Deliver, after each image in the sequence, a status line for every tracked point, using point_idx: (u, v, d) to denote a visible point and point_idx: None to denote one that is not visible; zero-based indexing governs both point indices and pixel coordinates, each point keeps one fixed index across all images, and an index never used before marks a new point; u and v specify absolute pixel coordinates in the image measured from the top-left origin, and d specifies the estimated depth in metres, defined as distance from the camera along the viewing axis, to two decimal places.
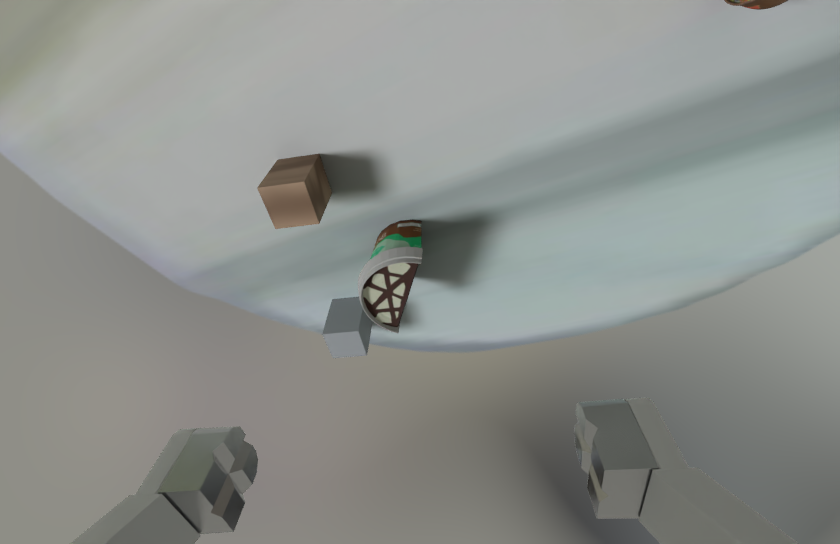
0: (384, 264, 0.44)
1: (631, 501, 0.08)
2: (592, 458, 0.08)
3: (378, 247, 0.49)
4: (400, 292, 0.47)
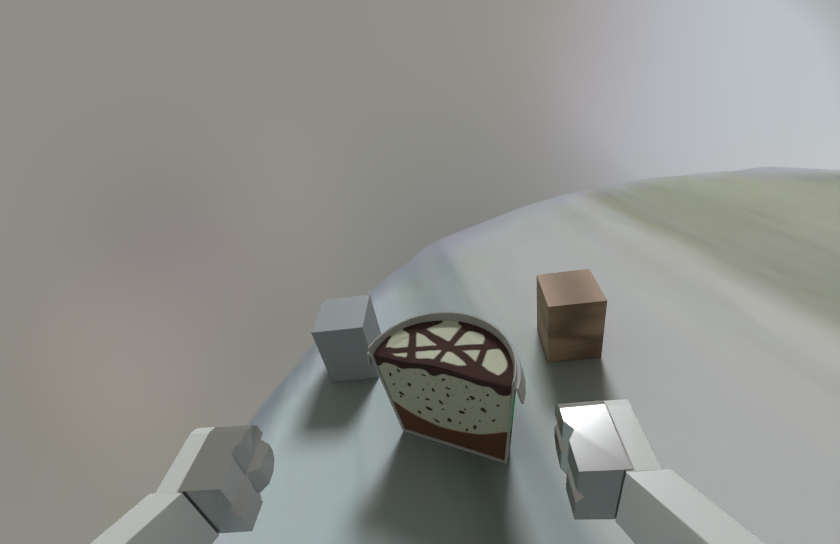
0: None
1: (607, 502, 0.08)
2: (569, 459, 0.08)
3: None
4: (447, 358, 0.30)
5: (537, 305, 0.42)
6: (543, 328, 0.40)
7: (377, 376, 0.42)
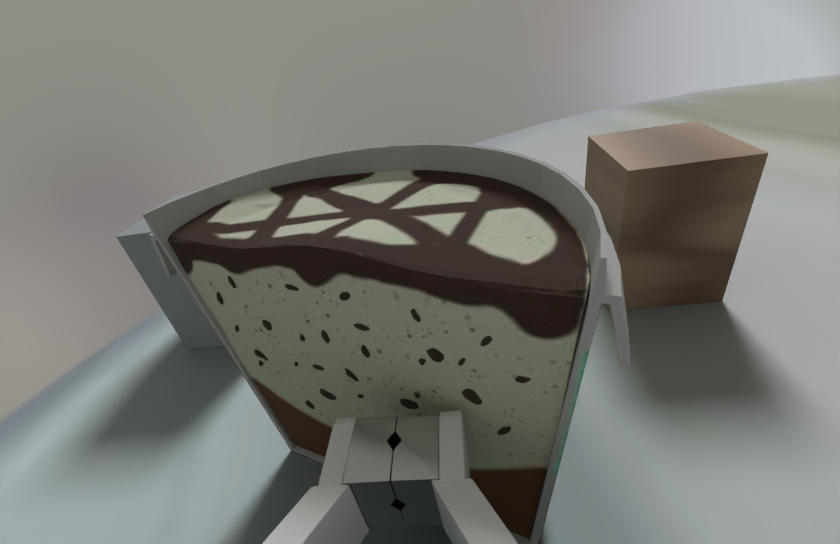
0: None
1: (429, 509, 0.08)
2: None
3: None
4: (361, 230, 0.09)
5: None
6: None
7: None
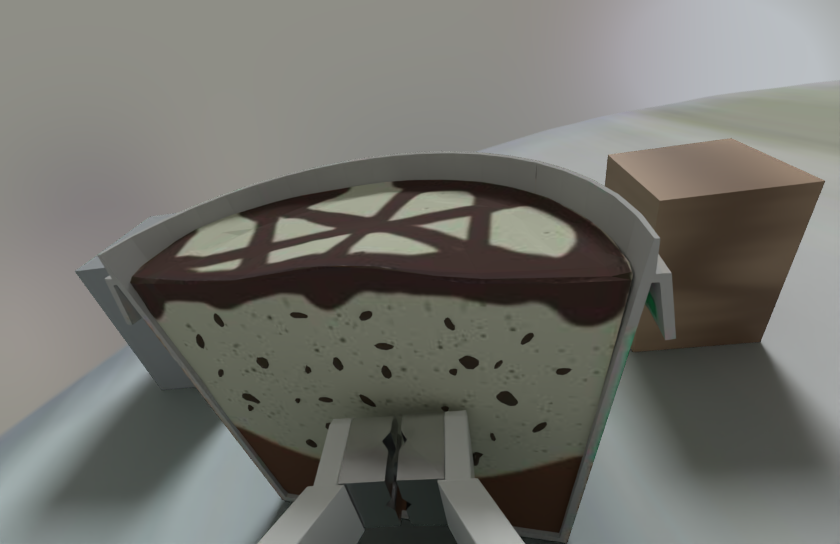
0: None
1: (434, 509, 0.08)
2: None
3: None
4: (372, 244, 0.09)
5: None
6: None
7: None
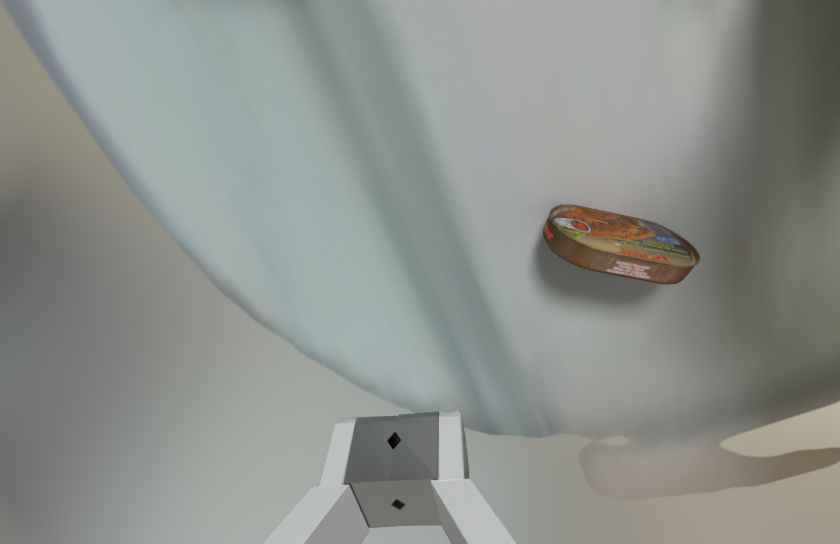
0: None
1: (428, 509, 0.08)
2: None
3: None
4: None
5: None
6: None
7: None
